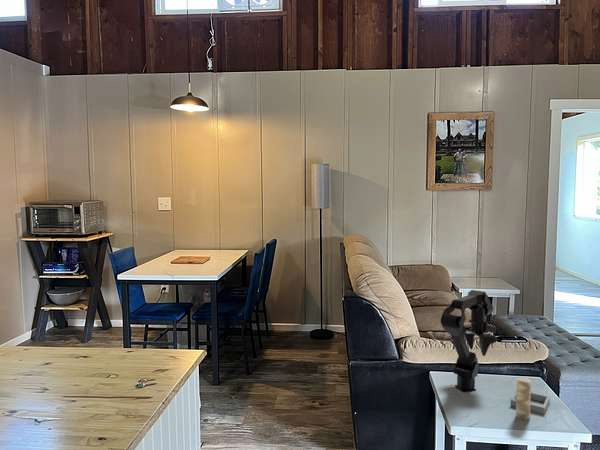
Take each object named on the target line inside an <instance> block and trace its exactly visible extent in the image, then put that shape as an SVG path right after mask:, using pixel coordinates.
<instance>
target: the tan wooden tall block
mask: <svg viewBox="0 0 600 450" xmlns="http://www.w3.org/2000/svg"><path fill="white" fill-rule="evenodd" d="M515 392H516V407H515V409H516V412H515V416H516V417H517V419H518V420H519V419H520V420H523V421H529V420H531V411H530V404H532V403H531V401H532V399H531V392H532V382H531V380H530V379H527V378H525V377H524V378H523V377H522V378H521V377H520V378H517V379H516V391H515Z"/></svg>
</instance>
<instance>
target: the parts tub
mask: <svg viewBox="0 0 600 450" xmlns="http://www.w3.org/2000/svg"><path fill="white" fill-rule="evenodd" d="M531 400H532V401H533V400H535V401H539V402H543V404H542V406H541V405H539V404H538V405H537V404H533V403H531V404H530V412H533V413H537V414H543V415H545V414H546V412H547V409H548V407H549V405H550V403H551V396H550V395H544V394H541V393H538V392H537V393H536V392H532V391H531ZM510 406H511V407H514V408H516V391H515V392H514V394H513V396H512V397H511V398H510Z"/></svg>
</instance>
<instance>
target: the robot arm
mask: <svg viewBox="0 0 600 450" xmlns="http://www.w3.org/2000/svg"><path fill="white" fill-rule="evenodd" d="M467 308H469V310H470V319H468V322H469V323H470V324H465V322H466V319H467V318H466V313H465V311H466V309H467ZM455 310H459V311H460V312H461V315H455V314H452V313H453V312H454V311H455ZM493 312H494V306H493V304H492V303H491V302H490V298H489V296H488V294H487V292H486V291H482V290H475V289H470V290H469V291H468V292H467V295H465V296H462V297H459V298H455V299H452V300H451V303H450V304H449V305H448V306H447V307H446V308H445V309H444V310H443V312H442V315H441V317H440V324H441V327H442V328H443V330H444V331H445V332H446V333H448V334H449V335H450V339H452V340H451V341H452V342H453V346H454V348H455V350H456V353H457V359H456V363H455V365H454V367H453V374H454V375H457V376H456V377H457V378H456V384H455V385H454V387H455V388H456V389H458V390H459V391H461V392H463V393H467V392H468V393H469V392H474V391H475V392H476V391H477V389H476V388H475V387H476V385H475V383H476V379H475V378H476V377H478V373H479V367H480V363H479V361H478V357H477V353H475V352H473V351H470V350H473V349H474V337H475V336H477V337H478V340H479V341H478V344H479V347H480V351H481V356H482V357H485V356H486V354H487V352H488V350H489V348H490V346H491V344H492V345H493V344H495V343H497V336H495V334H496V331H497V326H494V325H492V324H489V322H488V321H486V320H485V317H486V316H488V315H490V314H493ZM491 333H492V334H491Z"/></svg>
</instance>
